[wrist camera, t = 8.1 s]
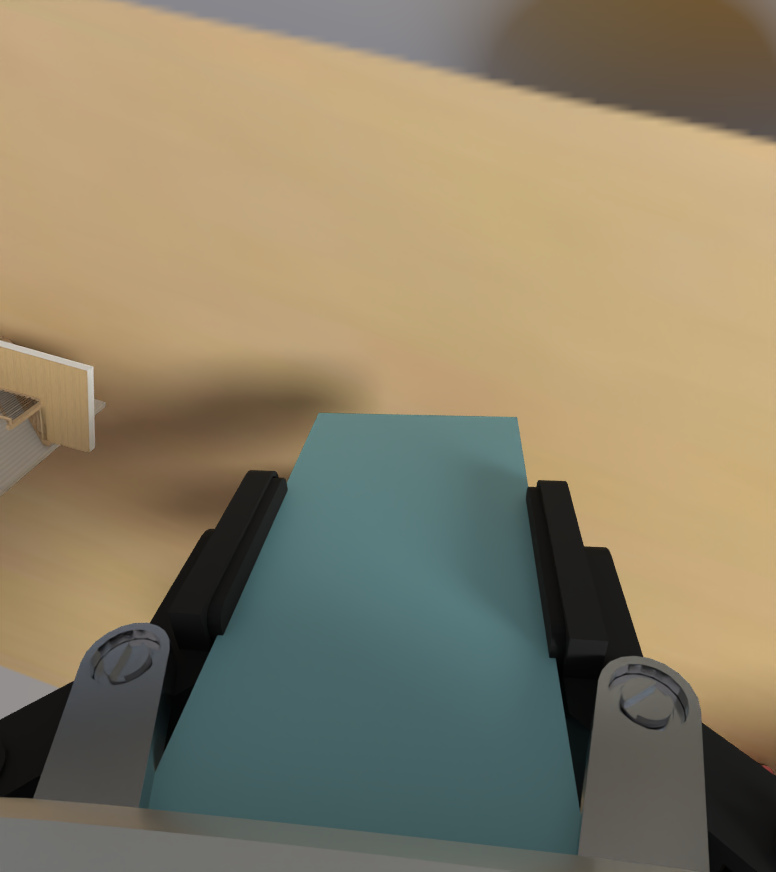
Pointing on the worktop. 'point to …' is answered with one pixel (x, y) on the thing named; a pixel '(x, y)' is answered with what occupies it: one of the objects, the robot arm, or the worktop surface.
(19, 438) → the architectural model
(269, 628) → the domino
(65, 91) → the worktop surface
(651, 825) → the robot arm
